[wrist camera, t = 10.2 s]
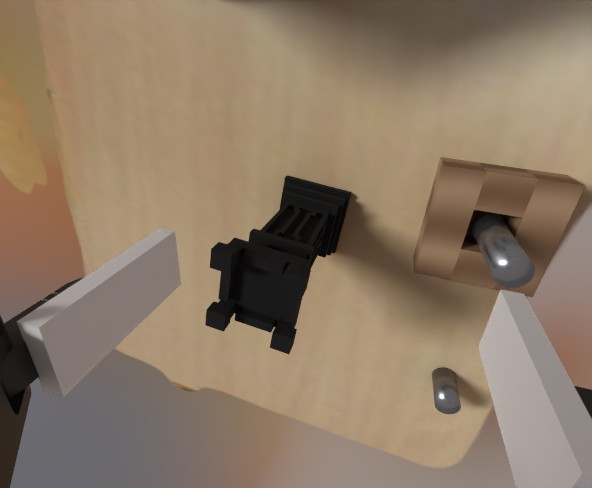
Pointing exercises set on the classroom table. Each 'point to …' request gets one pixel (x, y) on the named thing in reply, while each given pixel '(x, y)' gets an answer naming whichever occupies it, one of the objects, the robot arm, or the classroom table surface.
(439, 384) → the short pin
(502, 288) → the hole block
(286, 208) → the chess piece
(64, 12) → the classroom table surface
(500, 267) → the long pin
